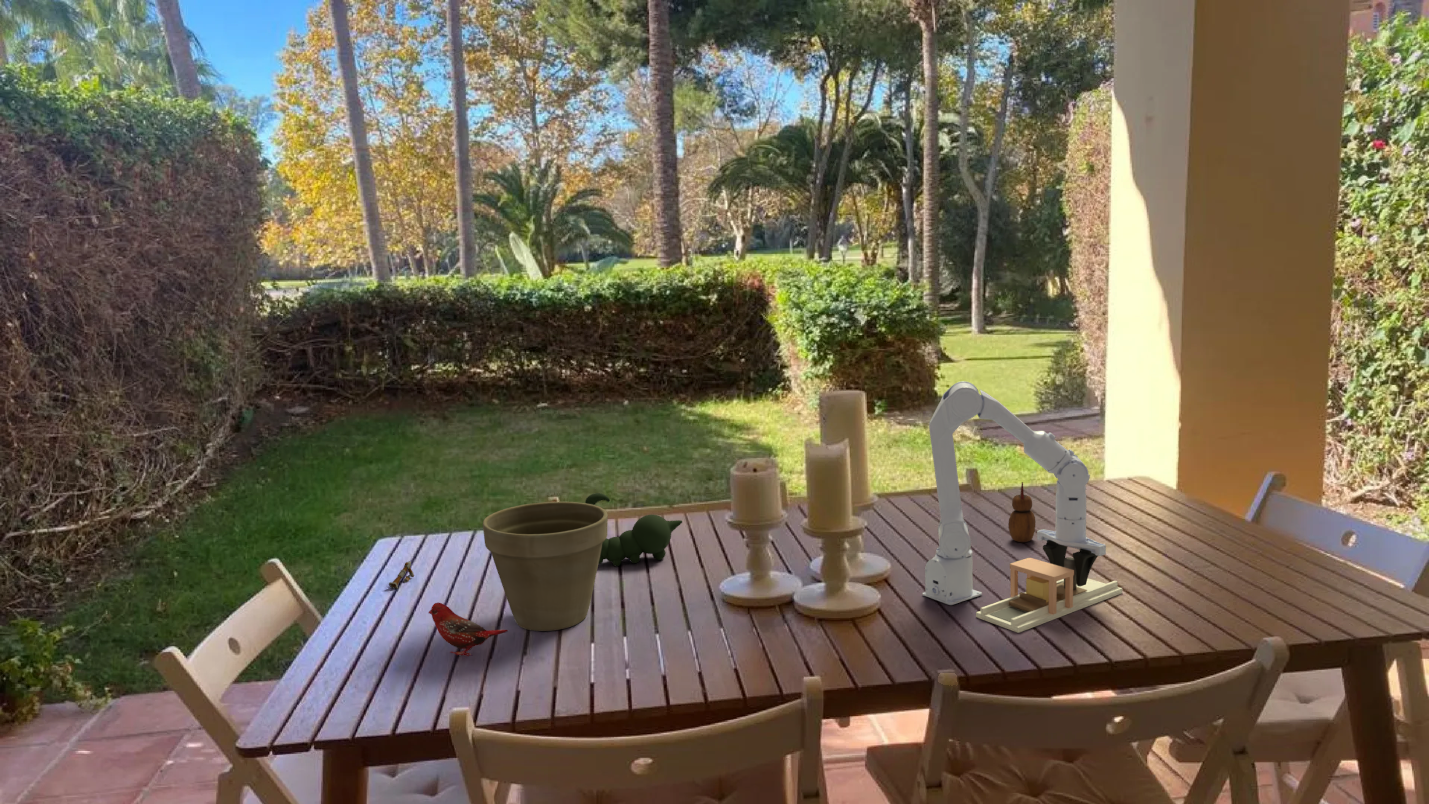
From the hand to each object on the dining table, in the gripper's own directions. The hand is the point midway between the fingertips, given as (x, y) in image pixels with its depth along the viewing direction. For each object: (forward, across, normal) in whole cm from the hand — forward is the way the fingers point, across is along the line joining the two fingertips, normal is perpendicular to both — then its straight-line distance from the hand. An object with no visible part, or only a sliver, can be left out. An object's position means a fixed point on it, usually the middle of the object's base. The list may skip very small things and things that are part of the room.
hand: (1070, 581), depth 187 cm
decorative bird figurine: (+4, +51, +107) cm, 119 cm away
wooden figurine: (+4, +31, -24) cm, 39 cm away
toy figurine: (+4, +81, +57) cm, 99 cm away
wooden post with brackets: (+4, +103, +106) cm, 148 cm away
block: (+1, 0, +9) cm, 9 cm away
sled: (+2, 0, +7) cm, 7 cm away
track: (+3, 0, +6) cm, 7 cm away
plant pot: (+4, +59, +87) cm, 105 cm away
